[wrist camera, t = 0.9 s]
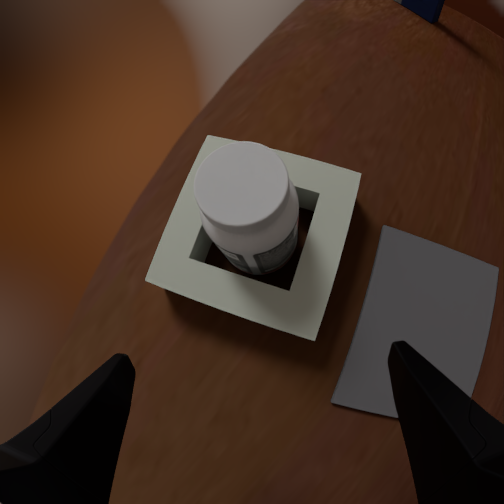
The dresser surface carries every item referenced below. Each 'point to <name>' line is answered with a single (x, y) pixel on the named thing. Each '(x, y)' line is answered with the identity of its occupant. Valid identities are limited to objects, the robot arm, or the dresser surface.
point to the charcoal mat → (418, 318)
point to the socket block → (248, 290)
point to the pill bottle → (248, 206)
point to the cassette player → (424, 8)
